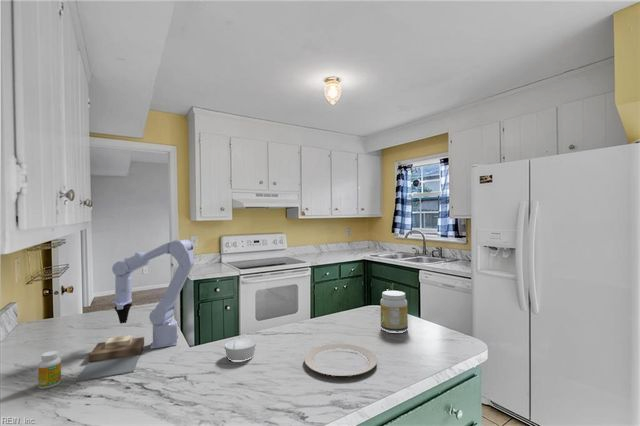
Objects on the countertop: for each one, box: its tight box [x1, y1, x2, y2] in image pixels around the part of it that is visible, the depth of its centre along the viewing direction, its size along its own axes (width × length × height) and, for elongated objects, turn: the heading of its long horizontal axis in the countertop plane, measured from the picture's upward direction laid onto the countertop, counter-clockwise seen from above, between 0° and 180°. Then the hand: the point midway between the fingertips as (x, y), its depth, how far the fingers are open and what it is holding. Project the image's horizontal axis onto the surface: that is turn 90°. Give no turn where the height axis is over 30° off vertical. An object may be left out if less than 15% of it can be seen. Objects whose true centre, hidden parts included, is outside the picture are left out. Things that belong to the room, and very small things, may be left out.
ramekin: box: [224, 337, 257, 360], centre depth 117 cm, size 11×11×5 cm
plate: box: [304, 343, 378, 377], centre depth 111 cm, size 26×26×2 cm
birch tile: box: [105, 334, 133, 349], centre depth 123 cm, size 8×6×2 cm
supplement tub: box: [379, 290, 409, 332], centre depth 144 cm, size 12×12×17 cm
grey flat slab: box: [75, 354, 141, 383], centre depth 109 cm, size 16×14×1 cm
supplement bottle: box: [37, 350, 62, 389], centre depth 99 cm, size 5×5×10 cm
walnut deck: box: [88, 336, 145, 363], centre depth 122 cm, size 16×12×3 cm
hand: (123, 322), depth 130 cm, fingers closed
